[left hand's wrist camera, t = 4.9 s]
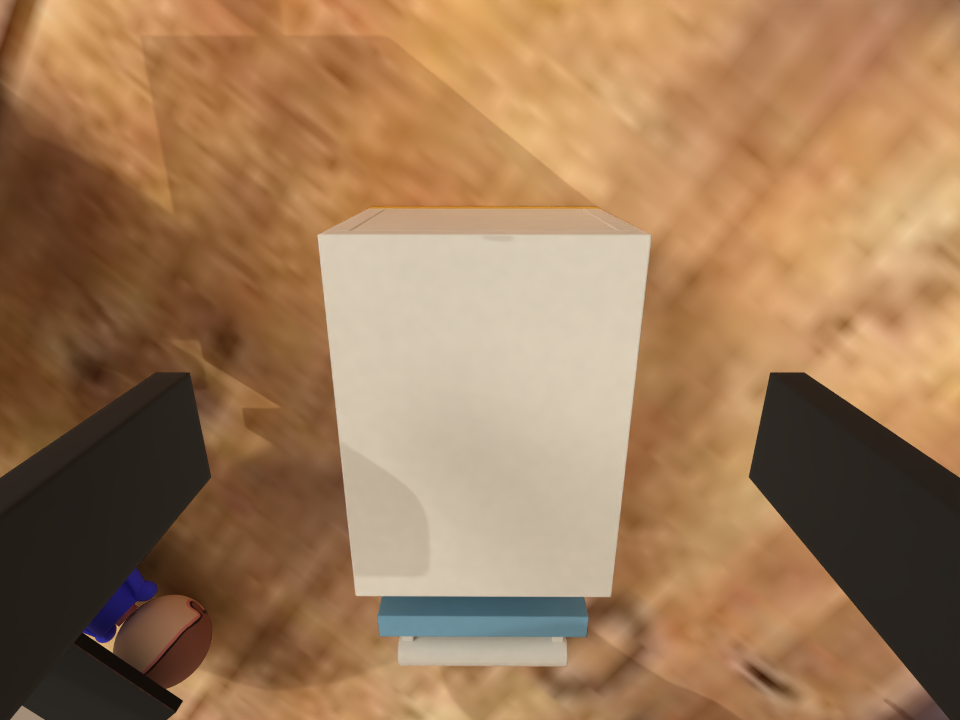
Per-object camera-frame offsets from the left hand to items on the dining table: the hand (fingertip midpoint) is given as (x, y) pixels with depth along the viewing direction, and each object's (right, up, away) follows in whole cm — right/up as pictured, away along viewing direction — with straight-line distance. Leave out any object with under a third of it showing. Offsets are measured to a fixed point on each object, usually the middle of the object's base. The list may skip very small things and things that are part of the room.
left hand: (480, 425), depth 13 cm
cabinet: (0, +2, +15) cm, 15 cm away
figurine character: (-22, -10, +20) cm, 31 cm away
